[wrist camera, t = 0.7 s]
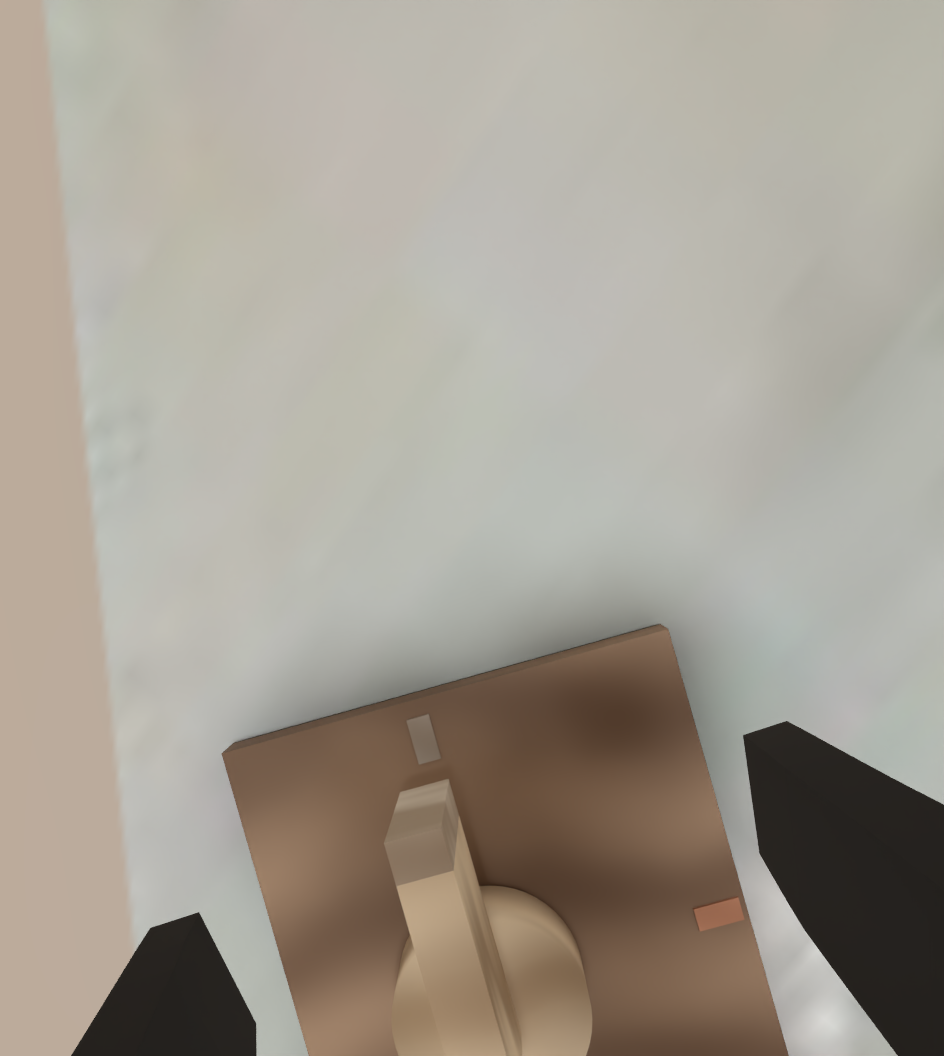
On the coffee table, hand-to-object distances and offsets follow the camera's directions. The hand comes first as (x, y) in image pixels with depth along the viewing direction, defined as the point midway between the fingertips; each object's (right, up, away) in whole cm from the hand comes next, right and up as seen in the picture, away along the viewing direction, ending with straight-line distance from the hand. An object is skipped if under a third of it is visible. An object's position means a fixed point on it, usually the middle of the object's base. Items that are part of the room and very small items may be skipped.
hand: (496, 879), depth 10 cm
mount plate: (+1, -9, +18) cm, 20 cm away
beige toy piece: (0, -9, +17) cm, 19 cm away
